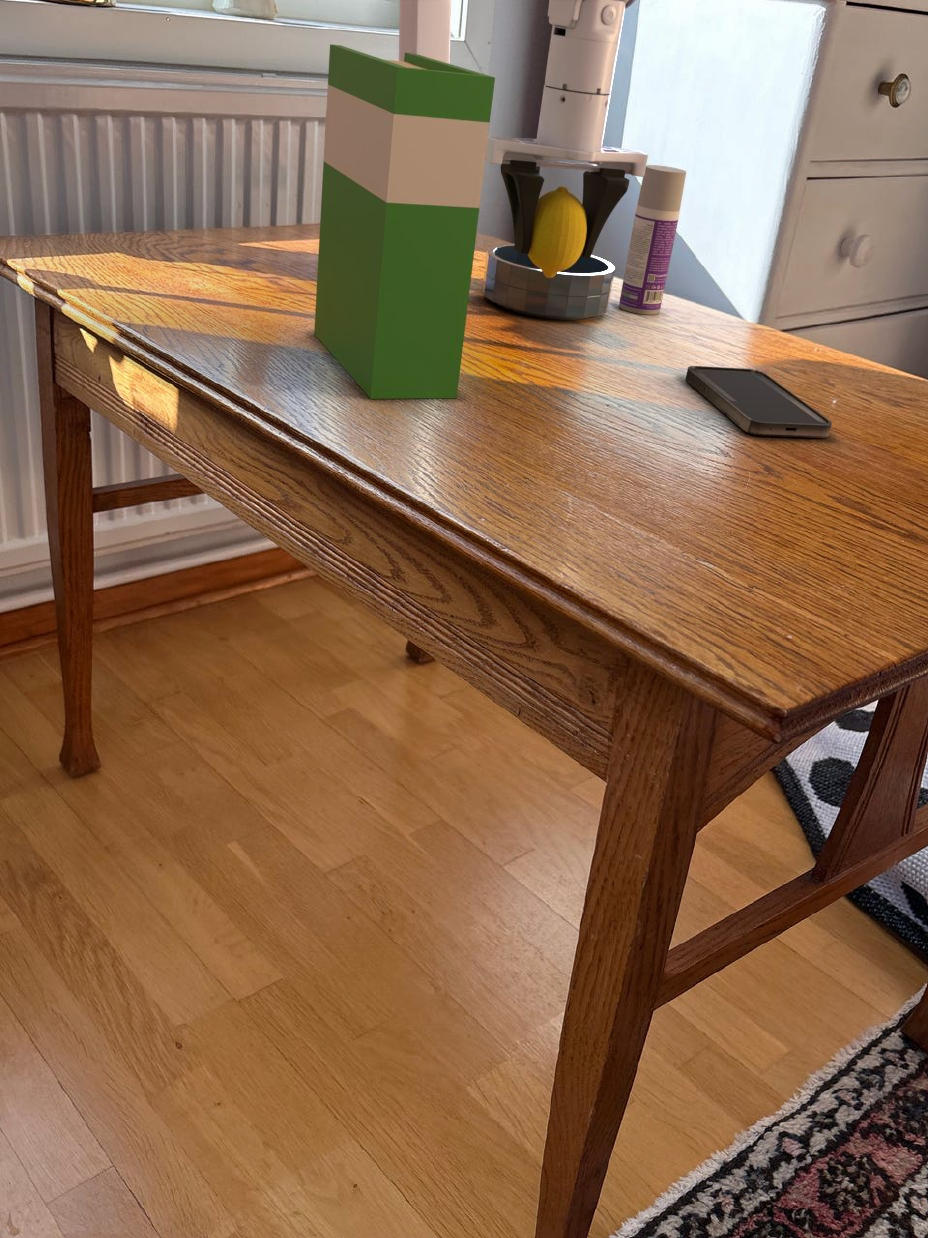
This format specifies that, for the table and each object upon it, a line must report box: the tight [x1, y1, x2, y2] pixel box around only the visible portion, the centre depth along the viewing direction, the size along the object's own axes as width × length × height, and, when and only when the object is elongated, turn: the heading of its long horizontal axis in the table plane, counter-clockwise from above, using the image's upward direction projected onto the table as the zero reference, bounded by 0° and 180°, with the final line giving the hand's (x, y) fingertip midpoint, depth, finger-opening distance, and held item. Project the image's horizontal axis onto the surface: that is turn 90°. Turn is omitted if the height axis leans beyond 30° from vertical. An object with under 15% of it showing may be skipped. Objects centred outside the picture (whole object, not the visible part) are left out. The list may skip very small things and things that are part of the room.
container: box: [618, 164, 687, 316], centre depth 124 cm, size 5×5×15 cm
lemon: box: [528, 186, 587, 278], centre depth 102 cm, size 6×6×8 cm
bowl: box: [481, 243, 616, 321], centre depth 123 cm, size 14×14×5 cm
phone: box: [684, 365, 833, 439], centre depth 100 cm, size 8×1×15 cm
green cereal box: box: [313, 43, 496, 400], centre depth 93 cm, size 18×7×24 cm, turn 21°
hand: (552, 253), depth 103 cm, fingers closed on lemon, 5 cm apart
